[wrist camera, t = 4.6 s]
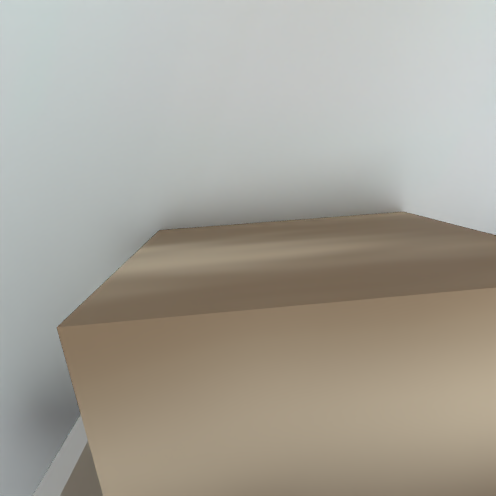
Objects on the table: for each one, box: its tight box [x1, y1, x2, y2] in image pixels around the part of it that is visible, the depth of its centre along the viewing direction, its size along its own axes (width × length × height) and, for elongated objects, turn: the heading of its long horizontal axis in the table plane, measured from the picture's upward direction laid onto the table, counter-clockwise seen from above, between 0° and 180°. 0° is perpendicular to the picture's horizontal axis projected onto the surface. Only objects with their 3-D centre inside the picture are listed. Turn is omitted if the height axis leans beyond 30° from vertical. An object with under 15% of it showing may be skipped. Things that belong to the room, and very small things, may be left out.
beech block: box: [57, 212, 496, 496], centre depth 8 cm, size 12×8×6 cm, turn 4°
